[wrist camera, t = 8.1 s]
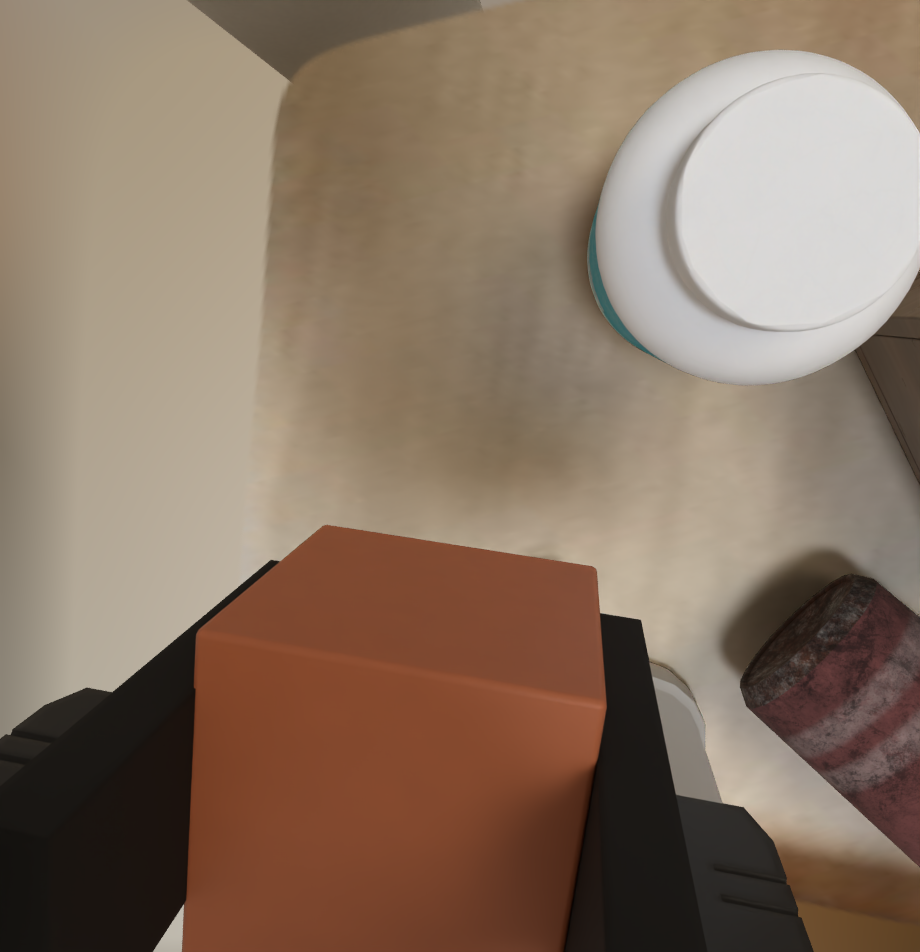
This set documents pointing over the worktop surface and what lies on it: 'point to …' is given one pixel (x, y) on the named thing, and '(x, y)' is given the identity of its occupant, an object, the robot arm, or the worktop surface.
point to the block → (394, 751)
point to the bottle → (684, 737)
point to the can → (850, 699)
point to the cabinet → (899, 371)
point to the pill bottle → (759, 219)
